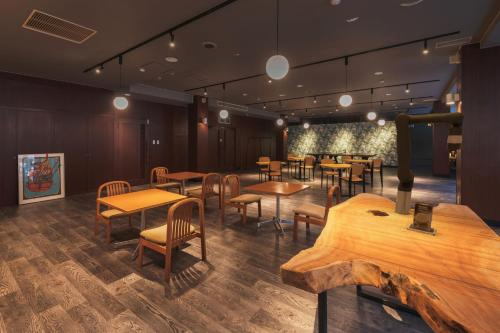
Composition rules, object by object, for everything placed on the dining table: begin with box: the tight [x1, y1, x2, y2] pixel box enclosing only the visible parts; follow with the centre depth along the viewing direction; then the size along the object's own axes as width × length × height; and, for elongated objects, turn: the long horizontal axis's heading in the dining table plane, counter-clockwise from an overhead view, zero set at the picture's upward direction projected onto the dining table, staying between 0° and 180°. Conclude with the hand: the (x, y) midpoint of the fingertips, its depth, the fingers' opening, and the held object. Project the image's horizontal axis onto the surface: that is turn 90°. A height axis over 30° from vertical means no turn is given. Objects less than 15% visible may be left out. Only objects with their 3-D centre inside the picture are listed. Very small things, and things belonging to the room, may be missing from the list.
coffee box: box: [412, 201, 434, 232], centre depth 153 cm, size 9×6×16 cm
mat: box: [406, 222, 437, 236], centre depth 154 cm, size 14×12×1 cm
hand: (451, 166), depth 169 cm, fingers open, 8 cm apart
